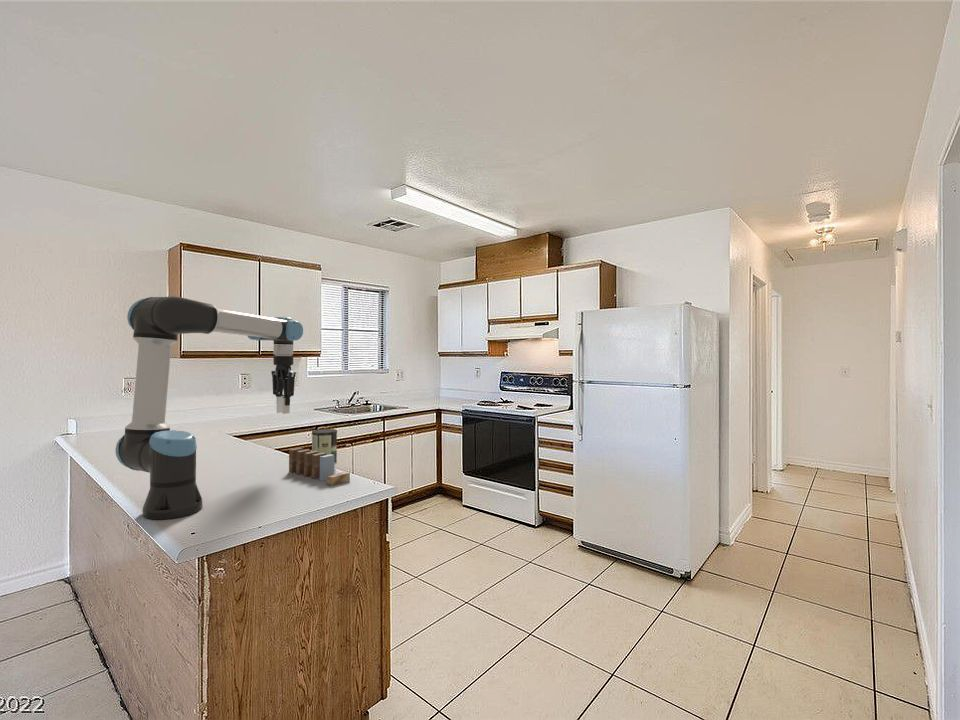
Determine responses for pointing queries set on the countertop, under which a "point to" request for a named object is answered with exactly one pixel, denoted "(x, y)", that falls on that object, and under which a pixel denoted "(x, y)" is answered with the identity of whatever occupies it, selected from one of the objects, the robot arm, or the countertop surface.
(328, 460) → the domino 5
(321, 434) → the coffee can
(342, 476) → the stop block
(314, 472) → the domino
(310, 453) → the domino
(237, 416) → the countertop surface
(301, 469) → the domino
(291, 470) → the domino
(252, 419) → the countertop surface
